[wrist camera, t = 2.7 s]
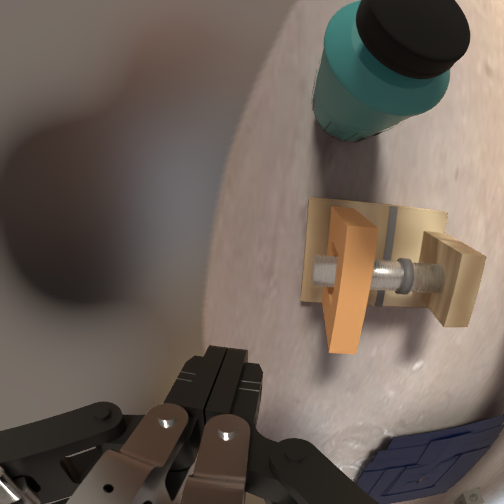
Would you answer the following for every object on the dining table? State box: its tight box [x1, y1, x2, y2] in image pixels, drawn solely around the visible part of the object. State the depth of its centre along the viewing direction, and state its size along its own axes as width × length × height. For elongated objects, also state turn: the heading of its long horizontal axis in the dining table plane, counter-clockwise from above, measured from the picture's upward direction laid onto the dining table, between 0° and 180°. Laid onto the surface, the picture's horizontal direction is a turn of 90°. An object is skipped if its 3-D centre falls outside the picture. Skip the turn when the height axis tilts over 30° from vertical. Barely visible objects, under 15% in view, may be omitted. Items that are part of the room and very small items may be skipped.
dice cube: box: [454, 488, 484, 504], centre depth 37 cm, size 5×5×5 cm
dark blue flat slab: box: [356, 414, 504, 504], centre depth 35 cm, size 24×30×4 cm
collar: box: [322, 206, 379, 354], centre depth 23 cm, size 2×9×9 cm, turn 178°
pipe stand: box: [301, 197, 486, 327], centre depth 24 cm, size 14×10×9 cm
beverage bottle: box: [311, 0, 470, 142], centre depth 16 cm, size 6×7×20 cm
